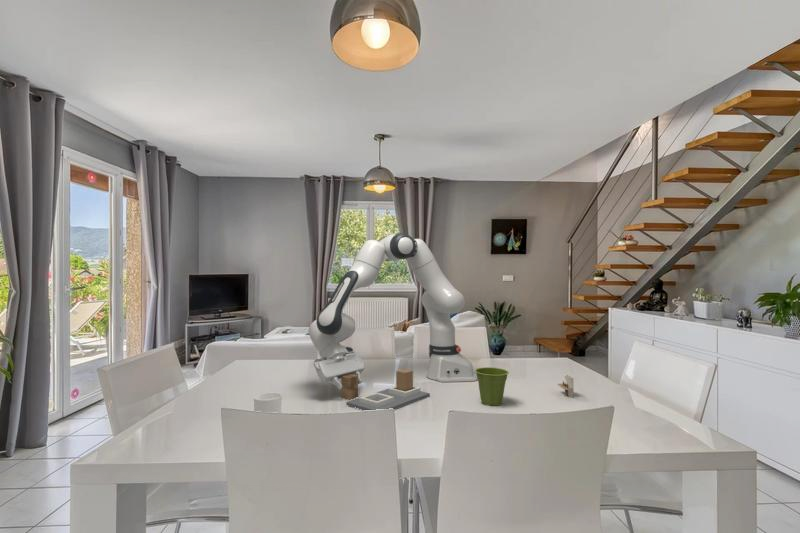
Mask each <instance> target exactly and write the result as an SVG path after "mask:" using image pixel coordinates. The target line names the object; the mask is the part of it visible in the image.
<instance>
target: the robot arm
mask: <svg viewBox="0 0 800 533" xmlns="http://www.w3.org/2000/svg"><path fill="white" fill-rule="evenodd" d="M401 260H405V261H407V262H408V264H409V267H410V268H411V271H412V273H413V274H414V276H415V278H416V280H417V281H418V284H419V286H421V287H422V288H423V289H424V290H425V291H424V292H423V294H422V296H421V304H422V306H423V308H424V309H425V312H426V316H427V318H428V319H427V320H428V323H429V343H430V344H429V345H428V356H429V361H428V362H429V363H428V364H429V365H428V370H427V373H426V377H427V378H428V379H430V380H434V381H438V382H441V383H449V382H450V383H451V382H453V383H454V382H476V381H478V379H477V374H476V372H475V371H474V368H473V365H472V362H471V361H470V360H469V359H468V358H466V357H465V356H464V355H462V354H461V352H462V348H461V347H460V346H459V345H457V344H456V327H455V324H454V323H453V322H452V319H451V315H455V314H458V313H460V312H462V310H464V307H465V304H466V303H465V300H466V299H465V297H464V295H463V294H462V293H461V292H460V291H459V290H457V289H456V287H454V285H453V284H452V283H451V282H450V281H449V279H448V278H447V277H446V276H445V274H444V273H443V271H442V270H441V267H440V265H439V264H438V262H437V261H436V260H437V259H436V258H435V256H434V254H433V253H432V251H431V249H430V248H429V246H428V245H427V243H425V241H424V240H423V239H421V238H413V237H412V236H411V235H409V234H407V233H404V232H398V233H392V234H389V235H386V236H384V237H381V238H380V239H379V240H376V239H368V240H366V241H365V242H364V243H363V244H362V246H361V248H360V249H359V251H358V252H357V254H356V256H355V258H354V260H353V263H352V264H351V267H349V270H348V271H347V272H346V273H344V275H343V276H342V277H341V279H340V281H339V283H338V284H337V286H336V287H335V289H334V291H333V293H332V294H331V296H330V298H329V300H328V301H327V303H326V305H325V306H324V307H322V309H321V310H319V313H318V314H317V317H316V319H315V320H313V321H312V322H311V323H310V325H309V327H308V335H309V337H310V339H311V342H312V344H313V345H314V348H315V349H316V350H317V351H318V355H319V357H320V358H317V359H315V360H314V361H313V366H314V369H315V371H316V375H317V377H318V379H319V381H320V382H322V383H328V382H331V383H332V384H333V385H335V386H336V387H337V389H338V390H341V389H343V388H344V385H343V383H341V381H339V380H341V376H344V375H348V374H353V375H357V376H358V385H360V384H362V382H363V381H362V379H361V374H362V373H363V371H364V370H365V368H366V366H365V363H364V362H363V360H362V359H361V357H360V356H359V355H358V354H357V353H355V352H356V350H355V347H352V346H345V345H341V342H343V341H346V340H347V339H349V338H351V336H353V334H354V333H355V331H356V330H355V329H356V321H355V320H354V318H353V317H352V316H350V315H349V314H346V313H344V308H345V306H346V305H347V304H348V301H349V299H350V297H351V295H352V293H354V292H355V291H356V290H357V289H360V288H363V289H364V288H368V287H370V286H371V285H373V284H374V282H375V281H376V280H377V278H378V275H379V273H380V270H381V268H382V265H383V264H384V262H385V261H387V262H388V261H389V262H391V261H393V262H394V261H395V262H396V261H401Z"/></svg>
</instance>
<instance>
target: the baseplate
mask: <svg viewBox="0 0 800 533" xmlns="http://www.w3.org/2000/svg"><path fill="white" fill-rule="evenodd" d="M395 372H396V373H395V374H396V376H395V378H396V382H395V383H396V385H395V386H393V387H389V388H386V389H383V390H379V391H377V392H373V393H370V394H368V395H364V396H361V397H358V398H355V399H352V400H347V401H346V403H345V404H346V406H347V405H348V406H347V407H350V406H352V407H351V408H353V407H356V408H359V409H358V410H360V409H362V410H361V411H363V410H376V409H389V408H393V409H395V410H398V409H400V408H403V407H406V406H408V405H411V404H414V403H417V402H418V401H422V400H424V399H427V398H430V397H431V396H430V395H431V393H430V392H425V391H421V387H418V386H414V376H413V375H414V370H411V369H406V368H403V369H398V370H396V371H395ZM356 408H355V409H356Z"/></svg>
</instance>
